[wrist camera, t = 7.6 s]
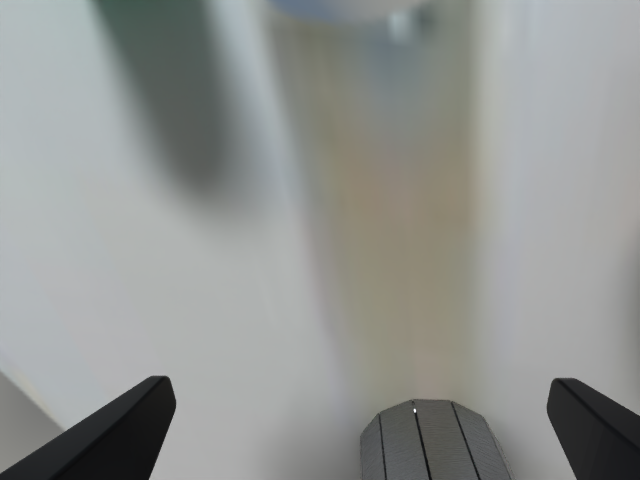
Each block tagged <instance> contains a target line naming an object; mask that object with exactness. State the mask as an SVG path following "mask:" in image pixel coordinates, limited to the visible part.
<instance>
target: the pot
mask: <svg viewBox="0 0 640 480" xmlns="http://www.w3.org/2000/svg"><path fill="white" fill-rule="evenodd" d="M360 460H361V480H516V479H515V477H514V475H513V472H512V470H511V468H510V466H509V464H508V462H507V460H506V457H505V455H504V453H503V451H502V449H501V447H500V444H499V442H498V440H497V439H496V437H495V435H494V434H493V432H492V430H491V429H490V427H489V425H488V424H487V422H486V420H485V419H484V417H482V416H481V415H479V414H477V413H475V412H473V411H471V410H469V409H467V408H465V407H463V406H461V405H459V404H457V403H455V402H453V401H452V402H451V403H450V401H446V400H416V399H414V401H412V400H409V401H407V402H404V403H402V404H399V405H397V406H394V407H392V408H389V409H387V410H384V411H381V412H380V414H379V413H378V414H377V415H376V417H375V418H374V419H373V420H372V422H371V423H370V424H369V425H368V427H367V428H366V429H365V430H364V431H363V433H362V434H361V436H360Z"/></svg>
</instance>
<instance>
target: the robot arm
mask: <svg viewBox="0 0 640 480" xmlns="http://www.w3.org/2000/svg"><path fill="white" fill-rule="evenodd" d="M175 409H176V399H175V395H174V391H173V388H172V384H171V381H170V378H169V377H168V376H150V377H149V378H147V379H145V380H144V381H142V382H141V383H139V384H138V385H136V386H135V387H133V388H132V389H130V390H128V391H127V392H125V393H124V394H122V395H121V396H119V397H118V398H116V399H115V400H113V401H111V402H110V403H108V404H107V405H105V406H104V407H102V408H101V409H99V410H98V411H96V412H94V413H93V414H91V415H90V416H88V417H87V418H85V419H84V420H82V421H81V422H79V423H77V424H76V425H74V426H73V427H71V428H70V429H68V430H67V431H65V432H64V433H62V434H61V435H59V436H57V437H56V438H54V439H53V440H51V441H50V442H48V443H47V444H45V445H44V446H42V447H41V448H39V449H38V450H36V451H34V452H33V453H31V454H30V455H28V456H27V457H25V458H24V459H22V460H20V461H19V462H17V463H16V464H14V465H13V466H11V467H10V468H8V469H6V470H5V471H3V472H2V473H0V480H149V478H150V475H151V473H152V470H153V468H154V466H155V463H156V460H157V458H158V455H159V452H160V450H161V447H162V444H163V442H164V439H165V437H166V434H167V431H168V429H169V426H170V423H171V421H172V418H173V415H174V413H175ZM547 413H548V417H549V419H550V422H551V424H552V426H553V428H554V430H555V433H556V435H557V437H558V439H559V441H560V444H561V446H562V448H563V450H564V452H565V455H566V457H567V459H568V461H569V463H570V466H571V468H572V470H573V472H574V474H575V477H576V479H577V480H640V416H639V415H637V414H635V413H634V412H632V411H630V410H629V409H627V408H625V407H624V406H622V405H620V404H618V403H617V402H615V401H613V400H612V399H610V398H608V397H607V396H605V395H603V394H601V393H600V392H598V391H596V390H595V389H593V388H591V387H590V386H588V385H586V384H584V383H583V382H581V381H579V380H577V379H575V378H555V379H554V380H553V381H552V383H551V388H550V392H549V397H548V402H547Z"/></svg>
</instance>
